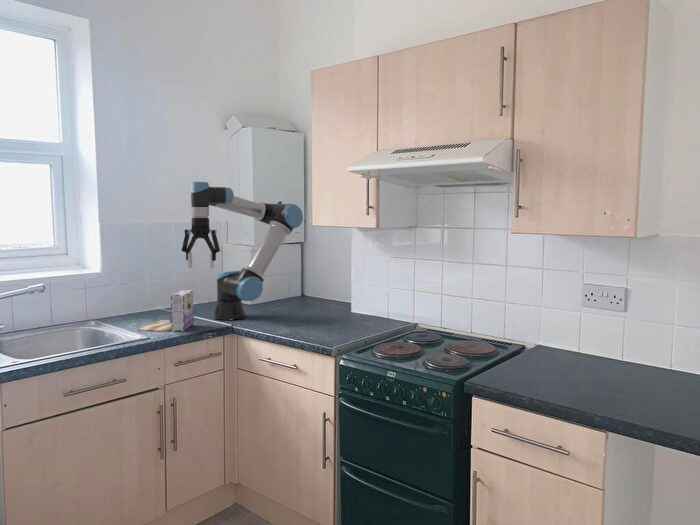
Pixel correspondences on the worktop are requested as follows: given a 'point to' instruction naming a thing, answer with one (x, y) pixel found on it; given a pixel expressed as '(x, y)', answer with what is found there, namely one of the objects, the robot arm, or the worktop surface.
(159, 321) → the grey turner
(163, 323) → the beech board
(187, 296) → the candy box
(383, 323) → the worktop surface
